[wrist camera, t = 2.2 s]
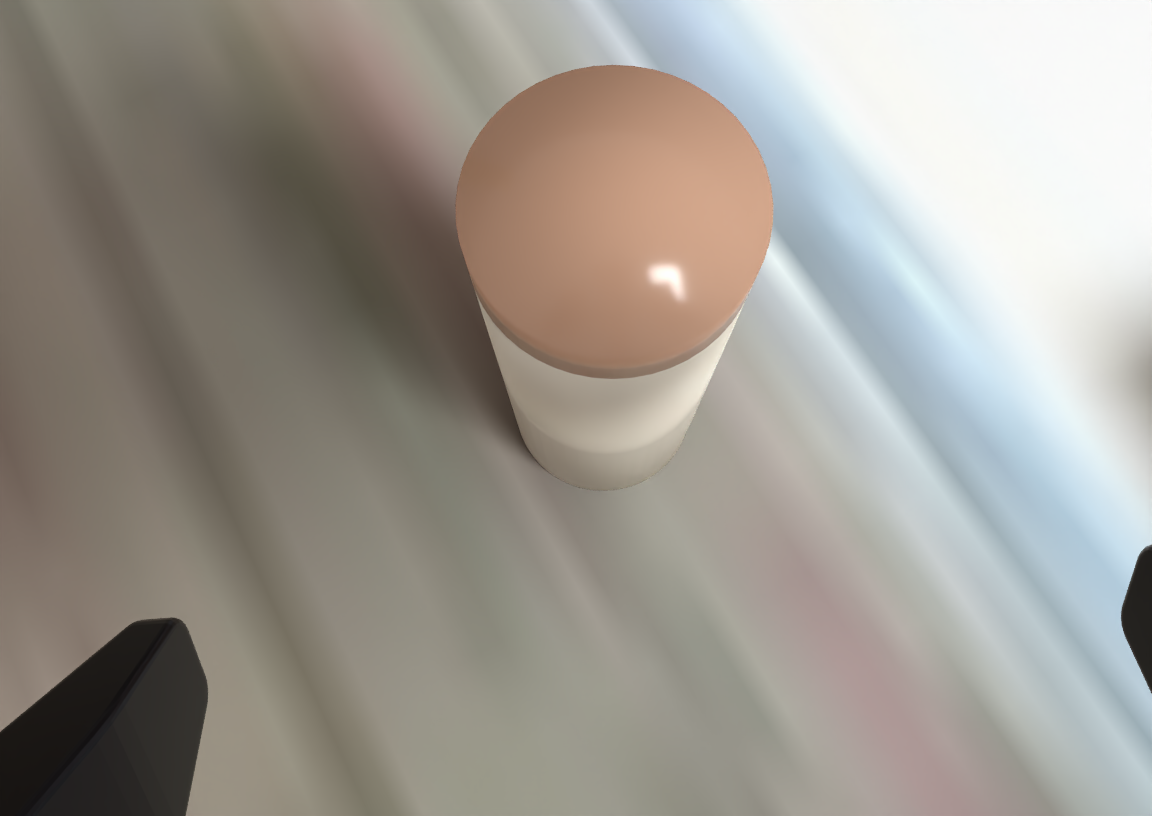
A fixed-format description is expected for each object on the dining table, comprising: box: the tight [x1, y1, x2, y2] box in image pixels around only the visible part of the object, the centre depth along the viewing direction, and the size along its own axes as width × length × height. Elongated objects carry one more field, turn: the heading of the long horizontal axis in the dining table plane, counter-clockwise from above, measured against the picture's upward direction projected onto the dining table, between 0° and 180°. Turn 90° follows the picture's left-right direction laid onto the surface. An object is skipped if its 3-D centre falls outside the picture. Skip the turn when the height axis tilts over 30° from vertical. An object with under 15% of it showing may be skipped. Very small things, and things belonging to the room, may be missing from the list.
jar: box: [455, 65, 773, 491], centre depth 17 cm, size 4×4×10 cm
